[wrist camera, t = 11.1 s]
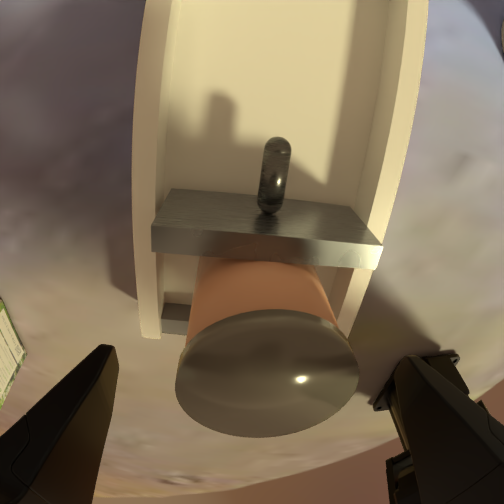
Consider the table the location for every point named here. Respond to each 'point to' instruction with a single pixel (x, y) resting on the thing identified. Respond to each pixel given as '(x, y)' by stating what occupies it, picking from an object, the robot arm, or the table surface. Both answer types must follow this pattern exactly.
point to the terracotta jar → (262, 350)
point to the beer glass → (502, 35)
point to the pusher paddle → (264, 223)
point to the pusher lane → (270, 121)
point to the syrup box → (8, 353)
